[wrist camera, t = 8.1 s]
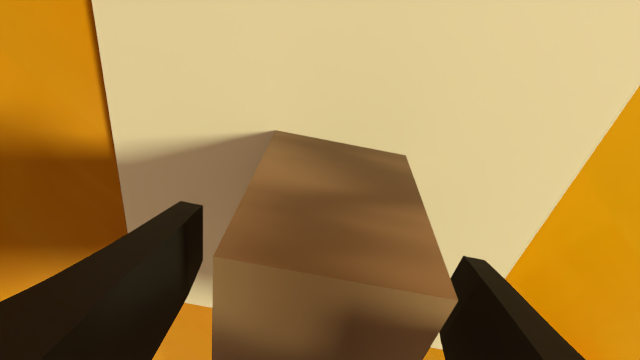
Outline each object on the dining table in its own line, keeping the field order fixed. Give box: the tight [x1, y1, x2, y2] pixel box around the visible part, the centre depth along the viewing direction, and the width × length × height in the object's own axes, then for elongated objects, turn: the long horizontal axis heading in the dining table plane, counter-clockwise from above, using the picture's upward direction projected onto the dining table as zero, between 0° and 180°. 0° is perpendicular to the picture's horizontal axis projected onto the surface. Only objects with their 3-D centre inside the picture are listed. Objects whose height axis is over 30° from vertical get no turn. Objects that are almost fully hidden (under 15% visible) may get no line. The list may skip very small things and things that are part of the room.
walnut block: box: [212, 130, 458, 360], centre depth 10 cm, size 4×4×6 cm
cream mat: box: [92, 0, 640, 349], centre depth 12 cm, size 16×16×1 cm
